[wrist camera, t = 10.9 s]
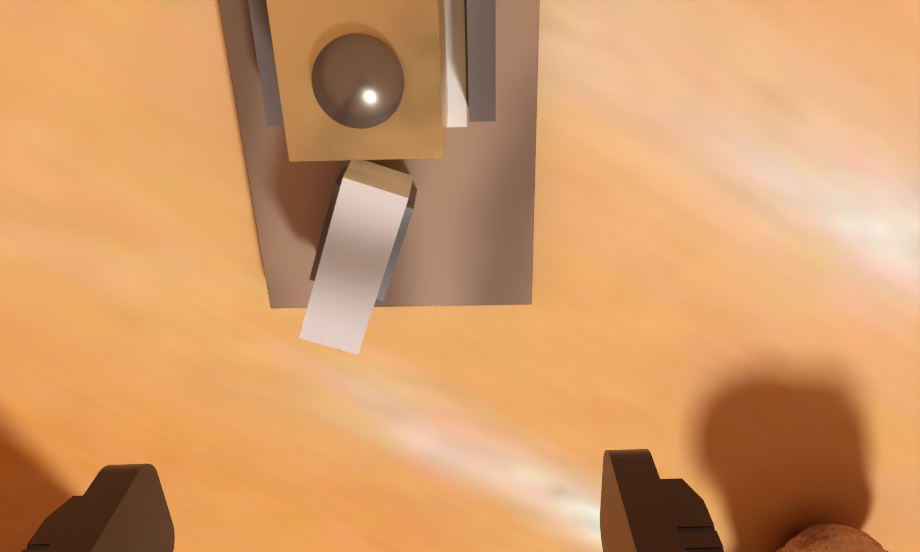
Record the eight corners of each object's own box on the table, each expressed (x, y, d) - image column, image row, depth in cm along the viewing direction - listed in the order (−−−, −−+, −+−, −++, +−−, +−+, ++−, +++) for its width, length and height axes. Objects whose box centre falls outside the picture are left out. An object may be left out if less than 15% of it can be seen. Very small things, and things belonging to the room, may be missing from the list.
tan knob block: (323, 115, 28) (287, 164, 22) (308, -20, 26) (262, -4, 20) (448, 112, 28) (443, 161, 22) (443, -24, 26) (436, -8, 20)
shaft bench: (277, 295, 33) (241, 365, 28) (176, -323, 23) (90, -394, 18) (529, 292, 33) (541, 361, 28) (544, -336, 23) (567, -412, 17)
